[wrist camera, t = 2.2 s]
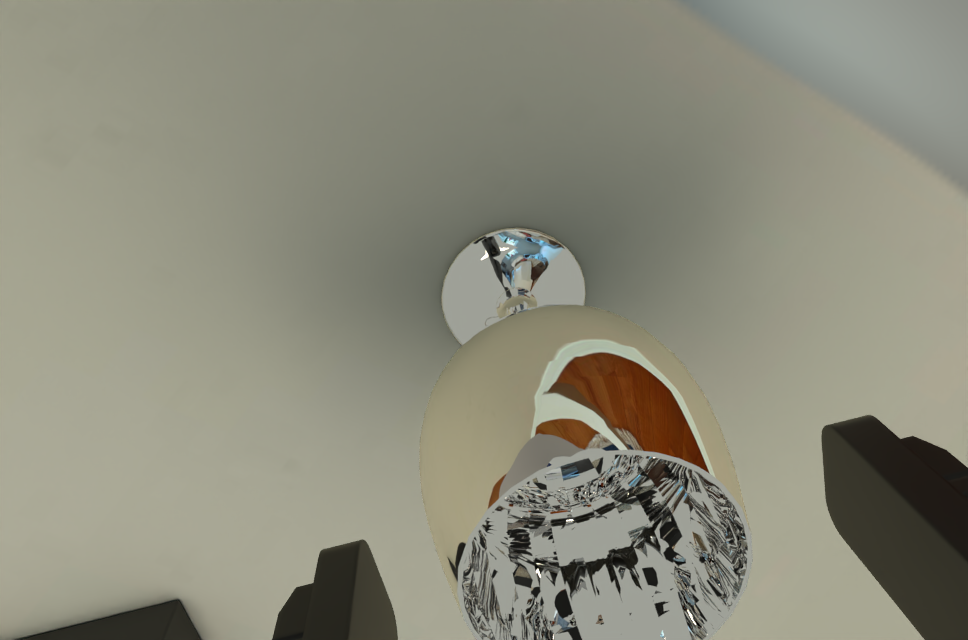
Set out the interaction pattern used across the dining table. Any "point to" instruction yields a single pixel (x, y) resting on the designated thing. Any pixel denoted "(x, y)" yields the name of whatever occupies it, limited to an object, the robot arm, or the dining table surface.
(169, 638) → the scale
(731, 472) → the wineglass
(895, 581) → the robot arm
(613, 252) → the dining table surface
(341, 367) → the dining table surface
